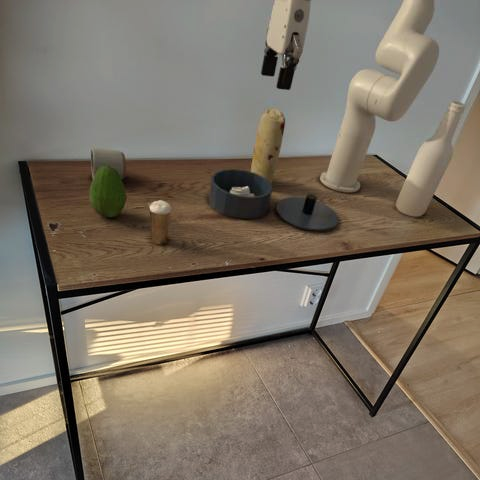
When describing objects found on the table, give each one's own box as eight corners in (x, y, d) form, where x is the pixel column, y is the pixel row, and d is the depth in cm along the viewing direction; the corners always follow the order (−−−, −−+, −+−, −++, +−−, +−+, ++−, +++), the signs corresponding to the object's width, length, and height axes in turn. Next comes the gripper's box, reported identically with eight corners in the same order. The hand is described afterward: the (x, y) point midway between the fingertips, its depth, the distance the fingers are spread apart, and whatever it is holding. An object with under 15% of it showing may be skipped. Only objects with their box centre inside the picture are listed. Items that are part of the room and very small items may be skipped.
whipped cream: (231, 212, 113) (233, 196, 109) (219, 198, 116) (221, 181, 113) (257, 207, 116) (260, 191, 112) (245, 193, 120) (248, 177, 116)
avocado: (115, 227, 99) (114, 176, 91) (84, 217, 99) (79, 166, 91) (132, 212, 104) (132, 163, 96) (102, 202, 105) (99, 154, 97)
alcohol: (390, 208, 129) (436, 100, 109) (400, 199, 135) (446, 95, 115) (417, 220, 126) (471, 111, 106) (427, 211, 132) (479, 106, 112)
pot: (219, 184, 123) (222, 163, 119) (273, 199, 121) (278, 179, 117) (200, 207, 111) (202, 186, 107) (259, 225, 110) (263, 203, 106)
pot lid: (282, 194, 124) (287, 175, 121) (340, 211, 122) (346, 192, 119) (269, 221, 112) (273, 200, 108) (332, 239, 110) (339, 219, 106)
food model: (276, 190, 126) (293, 118, 112) (255, 190, 123) (269, 117, 110) (265, 175, 132) (280, 105, 119) (244, 174, 130) (257, 103, 117)
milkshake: (147, 232, 99) (148, 192, 92) (170, 236, 99) (173, 196, 93) (143, 243, 96) (143, 202, 89) (167, 247, 96) (170, 206, 89)
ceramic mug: (127, 184, 114) (126, 155, 109) (94, 185, 111) (92, 155, 106) (120, 167, 121) (119, 139, 116) (89, 167, 118) (87, 138, 113)
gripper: (330, -2, 82) (305, 96, 93) (294, -16, 93) (276, 72, 105) (294, -9, 79) (273, 92, 90) (262, -23, 91) (247, 69, 102)
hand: (274, 82), depth 97 cm, fingers open, 9 cm apart
